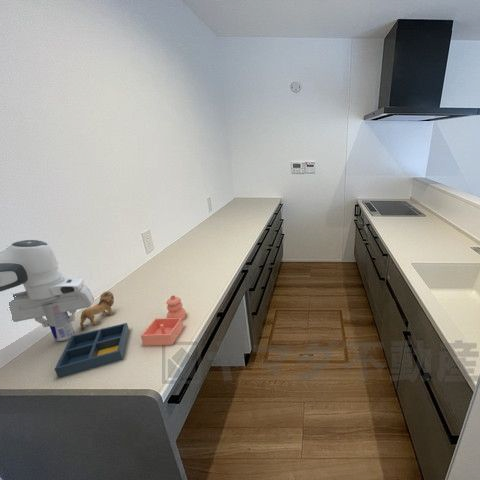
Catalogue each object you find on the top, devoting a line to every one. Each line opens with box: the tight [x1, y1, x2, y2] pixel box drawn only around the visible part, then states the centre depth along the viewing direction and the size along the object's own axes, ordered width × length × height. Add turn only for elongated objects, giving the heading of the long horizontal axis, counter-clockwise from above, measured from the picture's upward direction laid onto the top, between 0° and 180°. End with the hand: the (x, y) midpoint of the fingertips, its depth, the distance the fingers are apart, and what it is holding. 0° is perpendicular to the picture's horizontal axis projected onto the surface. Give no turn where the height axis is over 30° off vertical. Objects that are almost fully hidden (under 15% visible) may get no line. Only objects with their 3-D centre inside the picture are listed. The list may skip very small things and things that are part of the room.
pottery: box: [140, 294, 187, 346], centre depth 96 cm, size 18×10×10 cm, turn 3°
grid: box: [54, 322, 130, 379], centre depth 85 cm, size 15×15×4 cm
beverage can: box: [42, 302, 75, 342], centre depth 89 cm, size 5×5×15 cm
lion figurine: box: [79, 290, 115, 332], centre depth 100 cm, size 15×5×9 cm, turn 175°
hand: (60, 323), depth 90 cm, fingers closed on beverage can, 5 cm apart
